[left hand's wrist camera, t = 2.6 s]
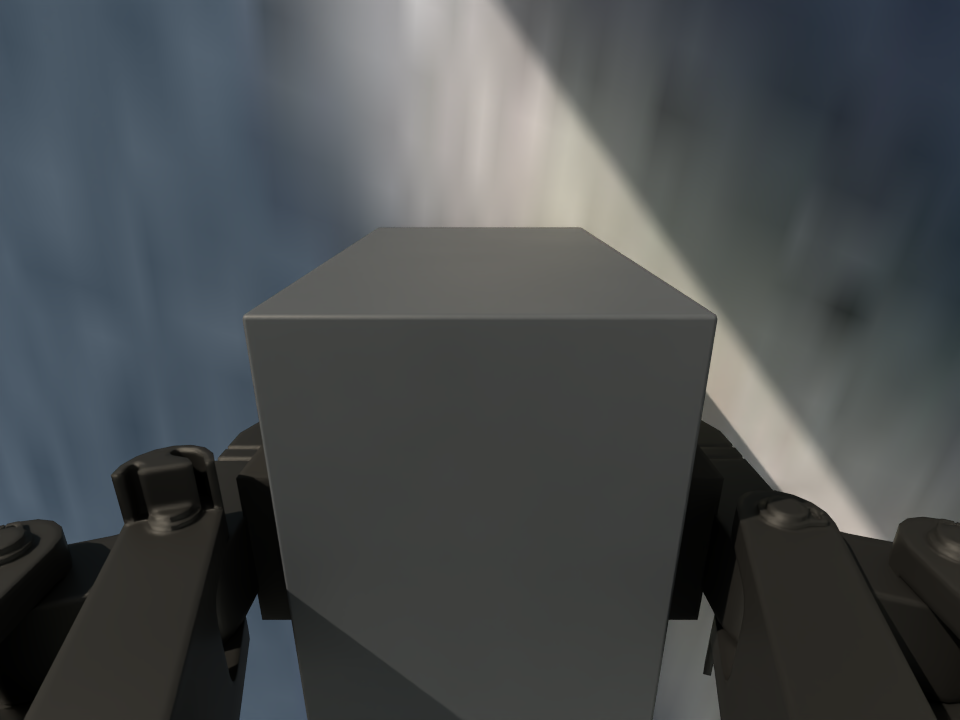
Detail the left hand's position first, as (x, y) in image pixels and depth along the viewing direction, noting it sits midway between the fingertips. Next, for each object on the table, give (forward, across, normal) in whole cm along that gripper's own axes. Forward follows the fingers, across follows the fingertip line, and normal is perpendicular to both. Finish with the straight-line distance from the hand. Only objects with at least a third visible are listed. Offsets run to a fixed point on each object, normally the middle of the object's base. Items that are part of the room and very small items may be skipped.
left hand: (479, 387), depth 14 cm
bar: (+1, 0, -8) cm, 8 cm away
